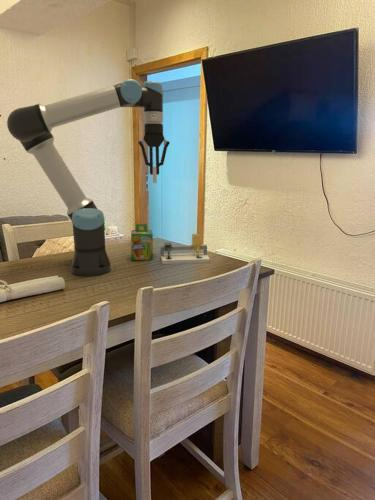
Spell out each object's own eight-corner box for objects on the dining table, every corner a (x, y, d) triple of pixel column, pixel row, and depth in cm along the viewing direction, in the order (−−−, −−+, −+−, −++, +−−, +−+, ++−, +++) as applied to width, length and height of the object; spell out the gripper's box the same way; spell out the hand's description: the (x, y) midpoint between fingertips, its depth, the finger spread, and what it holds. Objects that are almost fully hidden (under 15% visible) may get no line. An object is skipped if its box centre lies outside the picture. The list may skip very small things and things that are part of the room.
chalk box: (131, 261, 162) (130, 226, 159) (131, 255, 171) (130, 222, 168) (153, 260, 164) (152, 226, 160) (152, 254, 172) (151, 222, 169)
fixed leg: (165, 258, 160) (165, 246, 159) (164, 254, 167) (163, 242, 166) (172, 258, 160) (172, 246, 159) (170, 253, 167) (170, 242, 166)
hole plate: (162, 264, 158) (162, 251, 156) (160, 257, 167) (160, 245, 166) (209, 262, 160) (210, 249, 159) (205, 256, 170) (205, 244, 169)
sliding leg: (194, 256, 161) (194, 237, 159) (191, 252, 168) (191, 234, 166) (201, 256, 162) (201, 237, 160) (198, 252, 169) (198, 233, 167)
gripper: (137, 122, 150) (139, 183, 156) (170, 123, 151) (171, 183, 157) (137, 123, 157) (138, 182, 163) (169, 124, 158) (169, 181, 164)
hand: (154, 182), depth 160 cm, fingers closed
